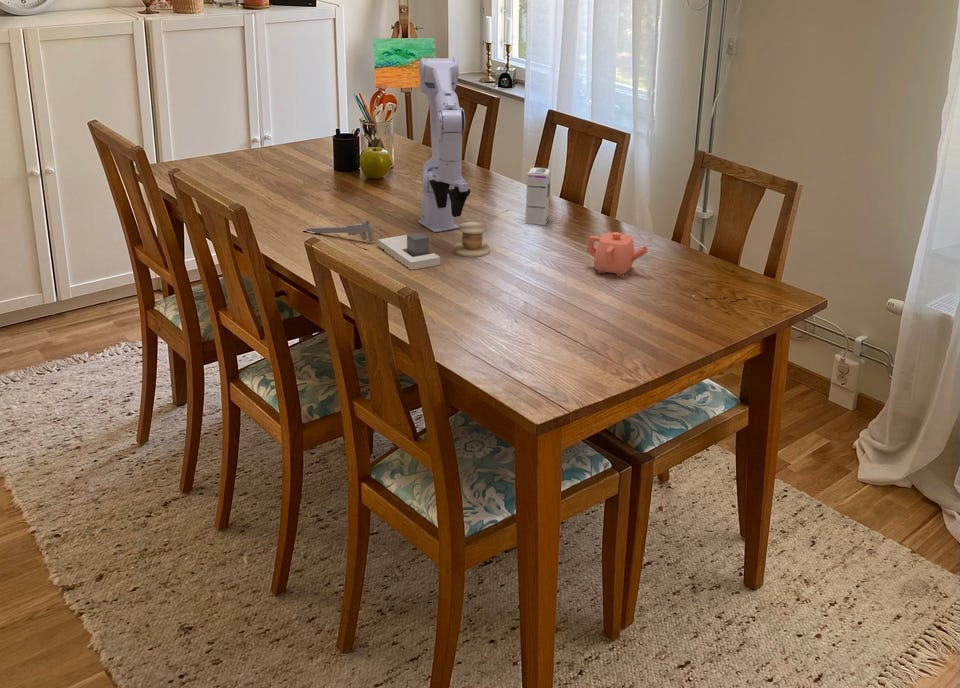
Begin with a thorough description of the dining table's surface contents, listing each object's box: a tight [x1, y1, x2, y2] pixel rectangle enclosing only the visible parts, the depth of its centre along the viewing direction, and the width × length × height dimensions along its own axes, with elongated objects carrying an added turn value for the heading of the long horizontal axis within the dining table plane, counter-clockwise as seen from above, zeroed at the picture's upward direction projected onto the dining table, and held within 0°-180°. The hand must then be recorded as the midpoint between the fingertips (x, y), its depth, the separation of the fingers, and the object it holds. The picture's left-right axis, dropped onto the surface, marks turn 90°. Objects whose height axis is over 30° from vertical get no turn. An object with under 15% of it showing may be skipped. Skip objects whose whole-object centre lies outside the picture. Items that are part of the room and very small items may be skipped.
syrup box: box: [525, 167, 552, 226], centre depth 275 cm, size 6×6×14 cm
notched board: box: [377, 234, 441, 271], centre depth 250 cm, size 18×8×2 cm, turn 31°
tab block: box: [406, 232, 430, 257], centre depth 248 cm, size 4×4×6 cm
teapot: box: [586, 231, 649, 277], centre depth 244 cm, size 12×12×10 cm
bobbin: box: [453, 221, 491, 258], centre depth 254 cm, size 9×9×6 cm
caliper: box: [305, 219, 375, 243], centre depth 260 cm, size 20×1×6 cm, turn 69°
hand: (449, 211), depth 253 cm, fingers open, 7 cm apart
